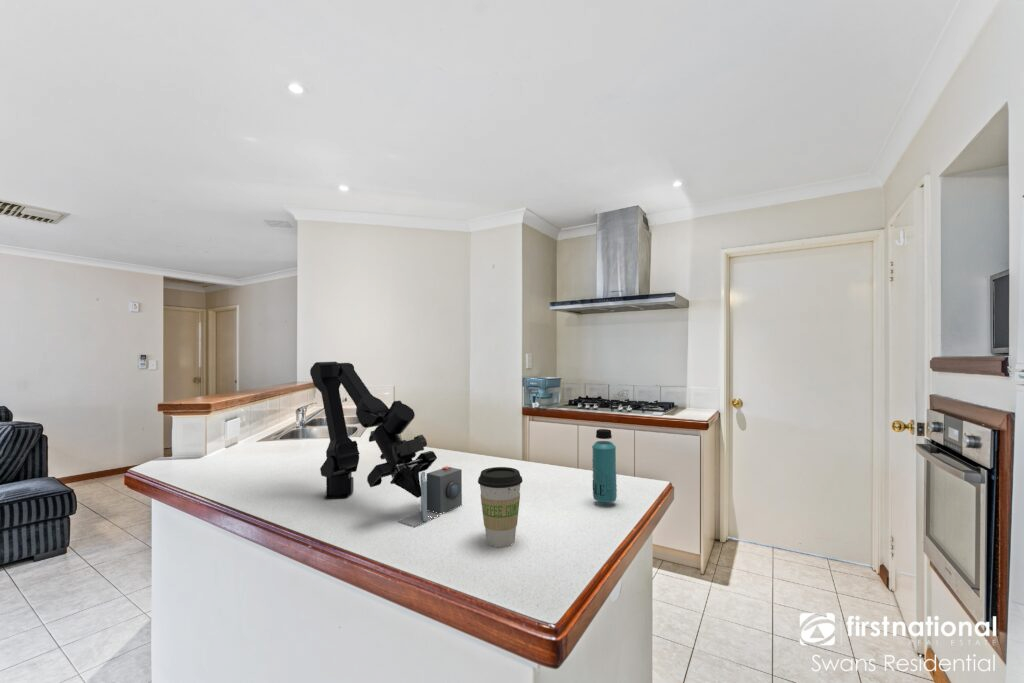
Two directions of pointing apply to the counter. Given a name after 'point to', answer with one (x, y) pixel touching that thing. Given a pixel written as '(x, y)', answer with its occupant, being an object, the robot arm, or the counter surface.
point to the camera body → (440, 494)
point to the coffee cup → (500, 504)
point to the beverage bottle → (604, 468)
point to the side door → (423, 496)
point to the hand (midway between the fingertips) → (419, 496)
